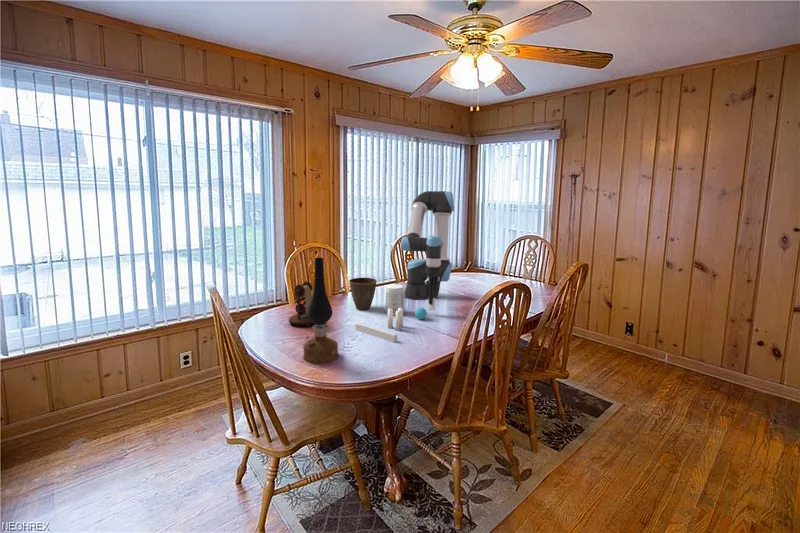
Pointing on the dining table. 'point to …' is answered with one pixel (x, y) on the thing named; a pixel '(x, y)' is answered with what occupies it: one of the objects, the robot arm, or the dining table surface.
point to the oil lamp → (320, 322)
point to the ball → (420, 313)
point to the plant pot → (363, 292)
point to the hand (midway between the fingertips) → (431, 310)
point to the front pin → (401, 315)
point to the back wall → (376, 332)
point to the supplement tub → (394, 297)
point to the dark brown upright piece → (302, 305)
